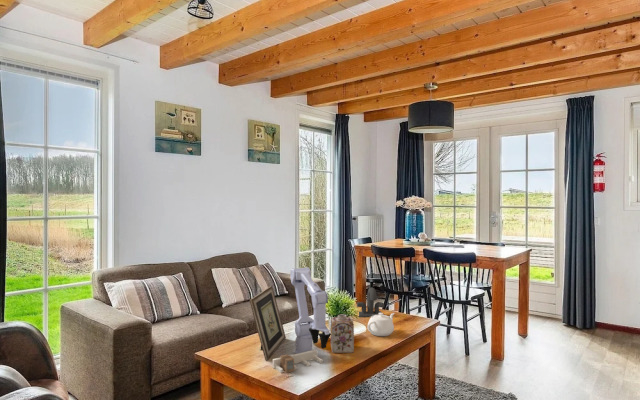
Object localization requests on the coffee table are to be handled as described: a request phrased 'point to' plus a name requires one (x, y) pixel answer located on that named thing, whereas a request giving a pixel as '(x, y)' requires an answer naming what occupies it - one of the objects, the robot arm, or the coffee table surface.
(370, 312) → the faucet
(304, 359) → the cream pronged rack
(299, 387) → the coffee table surface
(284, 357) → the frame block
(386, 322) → the teapot
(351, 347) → the decorative jar
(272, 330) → the picture frame
